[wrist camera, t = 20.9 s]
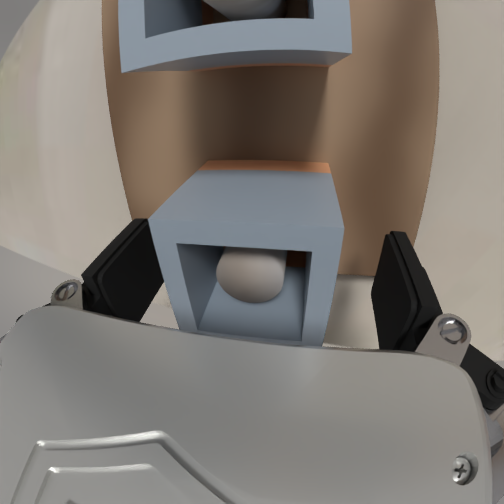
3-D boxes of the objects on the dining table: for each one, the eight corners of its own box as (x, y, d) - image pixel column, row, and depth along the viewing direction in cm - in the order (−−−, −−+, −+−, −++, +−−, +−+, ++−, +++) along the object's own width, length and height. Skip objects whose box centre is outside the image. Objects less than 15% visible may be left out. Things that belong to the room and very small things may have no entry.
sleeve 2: (328, 162, 12) (344, 228, 7) (319, 263, 15) (319, 354, 10) (208, 160, 13) (148, 219, 8) (219, 256, 16) (182, 339, 11)
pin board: (419, -21, 6) (479, -60, 1) (398, 262, 16) (425, 345, 11) (117, -5, 9) (33, -18, 4) (153, 247, 19) (104, 315, 13)
